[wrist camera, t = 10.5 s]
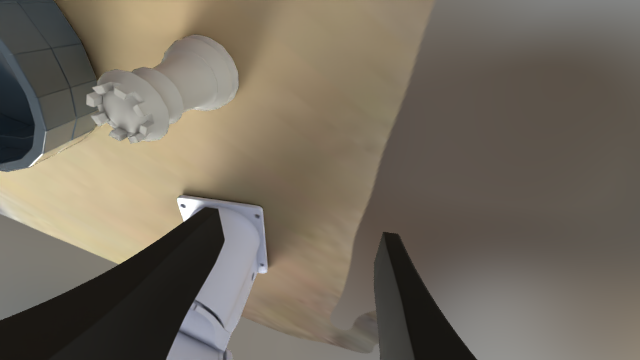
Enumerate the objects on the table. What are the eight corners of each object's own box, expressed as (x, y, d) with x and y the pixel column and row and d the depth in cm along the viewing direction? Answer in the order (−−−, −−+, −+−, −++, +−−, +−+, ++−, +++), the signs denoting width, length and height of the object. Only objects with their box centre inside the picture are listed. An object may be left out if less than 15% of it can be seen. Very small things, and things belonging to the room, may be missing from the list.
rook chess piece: (188, 104, 19) (97, 160, 12) (165, 34, 16) (36, 58, 10) (247, 105, 18) (184, 164, 12) (233, 32, 16) (142, 56, 9)
